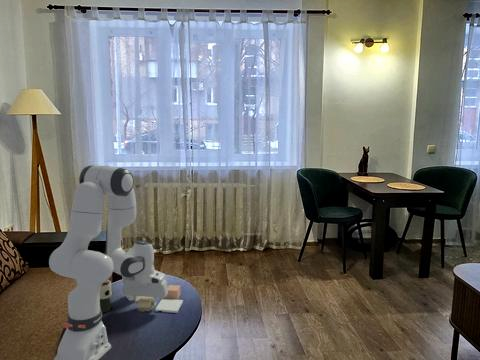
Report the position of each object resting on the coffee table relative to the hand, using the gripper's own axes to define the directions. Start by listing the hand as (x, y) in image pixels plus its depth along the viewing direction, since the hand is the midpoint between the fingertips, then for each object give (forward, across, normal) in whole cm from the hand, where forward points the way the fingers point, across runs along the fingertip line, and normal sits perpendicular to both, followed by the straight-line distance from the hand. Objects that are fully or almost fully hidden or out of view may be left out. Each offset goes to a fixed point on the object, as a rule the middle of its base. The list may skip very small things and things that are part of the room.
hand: (145, 304), depth 185 cm
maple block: (+2, 0, 0) cm, 2 cm away
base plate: (+2, +10, +3) cm, 11 cm away
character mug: (+2, -18, -4) cm, 18 cm away
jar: (+2, -9, +10) cm, 13 cm away
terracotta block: (+2, +9, +13) cm, 16 cm away
